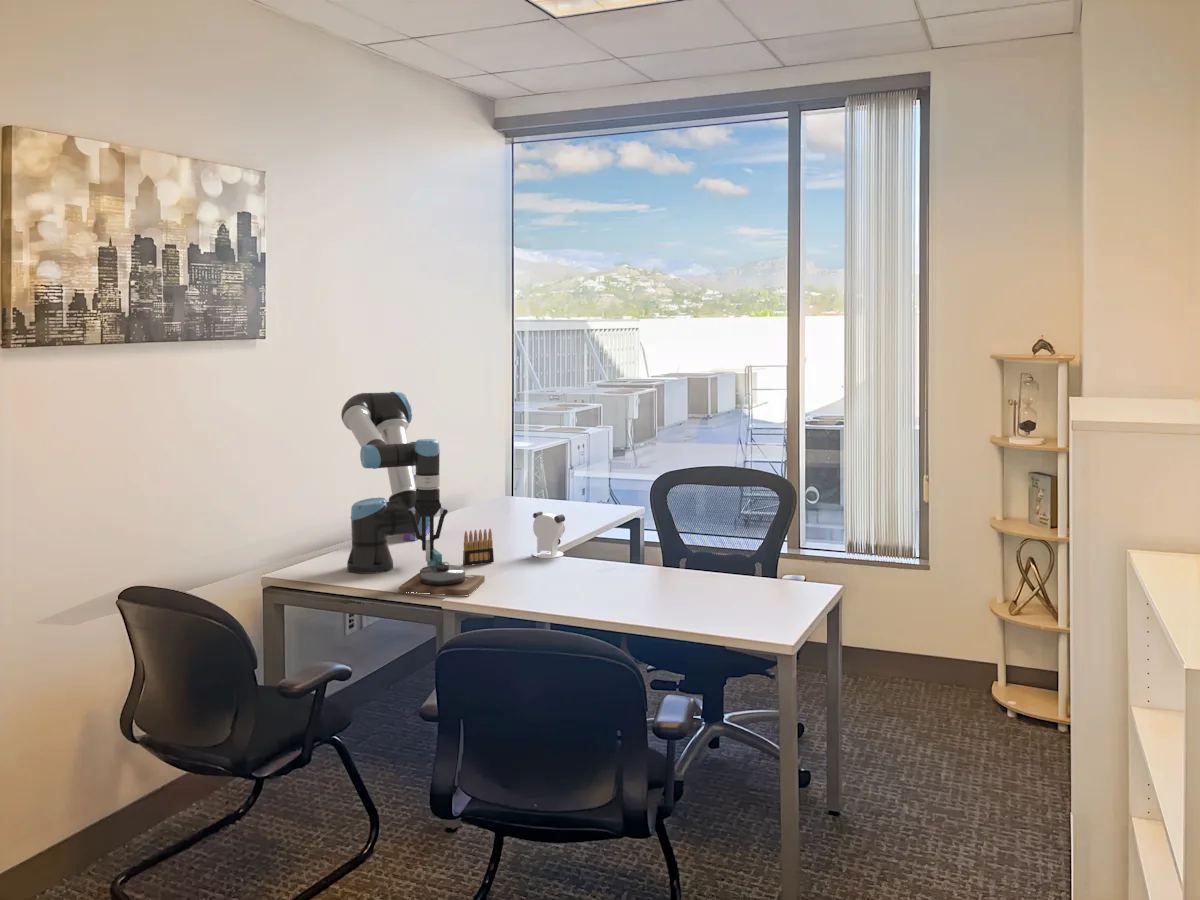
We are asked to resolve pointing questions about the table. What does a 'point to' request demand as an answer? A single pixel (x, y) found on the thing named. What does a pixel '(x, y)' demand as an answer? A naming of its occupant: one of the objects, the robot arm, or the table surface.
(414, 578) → the stand
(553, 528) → the panda figurine
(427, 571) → the dial
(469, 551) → the ammunition clip
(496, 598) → the table surface
